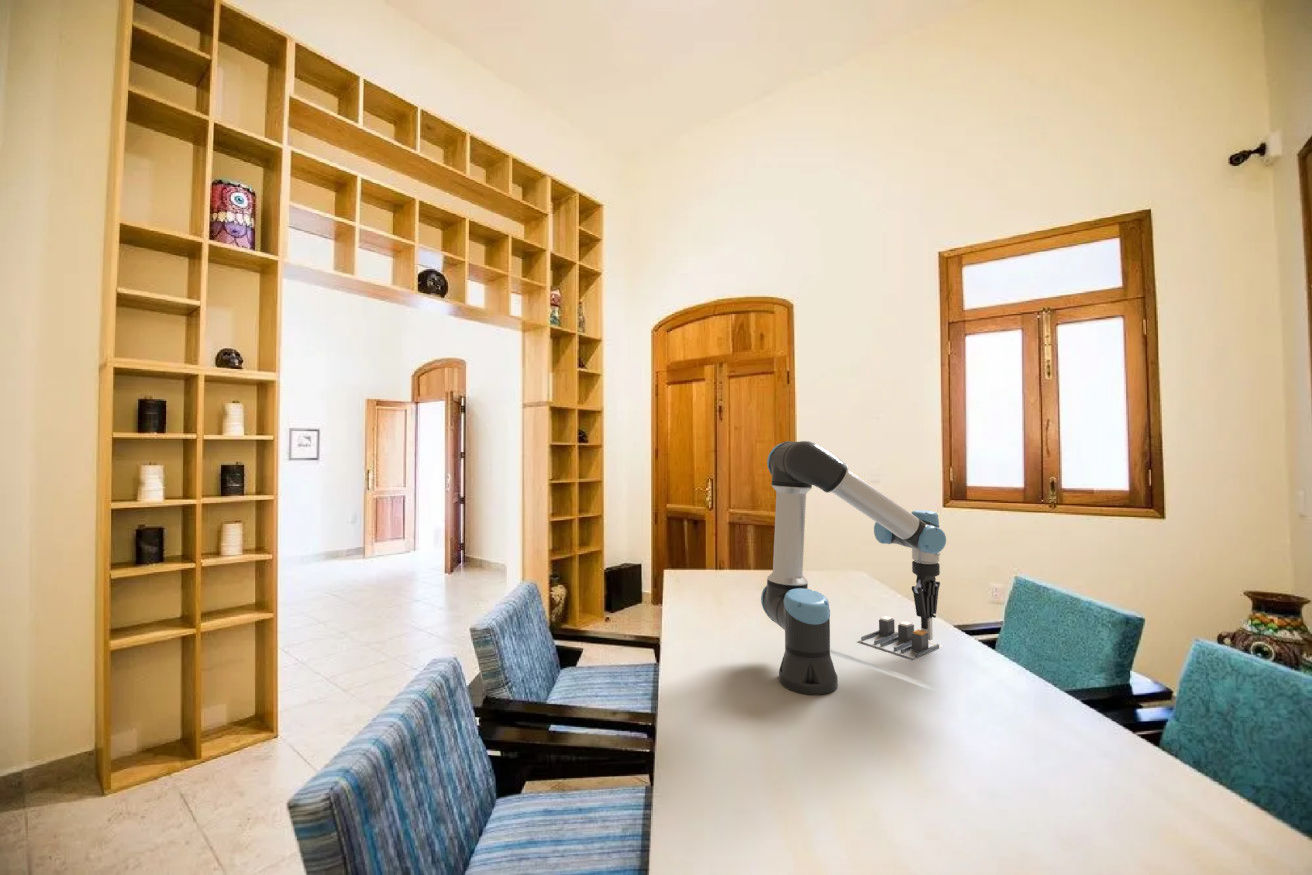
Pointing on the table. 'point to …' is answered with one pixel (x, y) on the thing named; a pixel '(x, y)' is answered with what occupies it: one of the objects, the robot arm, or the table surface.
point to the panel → (903, 647)
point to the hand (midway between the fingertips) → (926, 638)
